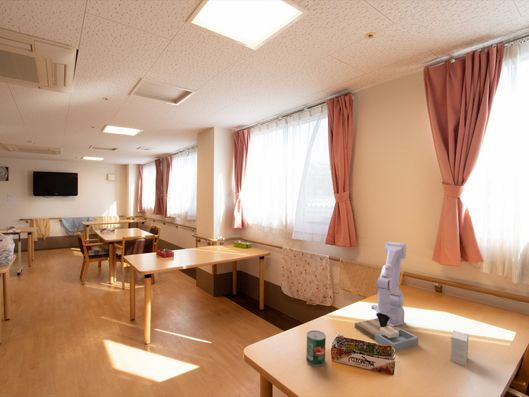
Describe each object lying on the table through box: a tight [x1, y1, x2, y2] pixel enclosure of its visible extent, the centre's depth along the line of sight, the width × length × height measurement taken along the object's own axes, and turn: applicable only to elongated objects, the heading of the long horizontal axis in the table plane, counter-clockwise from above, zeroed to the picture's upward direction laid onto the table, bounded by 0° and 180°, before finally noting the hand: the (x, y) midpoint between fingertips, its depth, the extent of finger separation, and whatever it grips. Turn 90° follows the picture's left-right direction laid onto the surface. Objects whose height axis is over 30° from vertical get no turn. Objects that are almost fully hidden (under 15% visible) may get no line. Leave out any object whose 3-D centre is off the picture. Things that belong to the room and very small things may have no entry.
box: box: [374, 328, 419, 353], centre depth 136 cm, size 16×11×4 cm
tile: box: [380, 326, 399, 338], centre depth 140 cm, size 6×6×2 cm
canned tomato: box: [305, 330, 327, 367], centre depth 120 cm, size 8×8×11 cm
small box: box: [450, 330, 469, 367], centre depth 123 cm, size 8×6×10 cm
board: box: [354, 317, 400, 341], centre depth 148 cm, size 16×14×2 cm
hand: (383, 328), depth 143 cm, fingers closed
